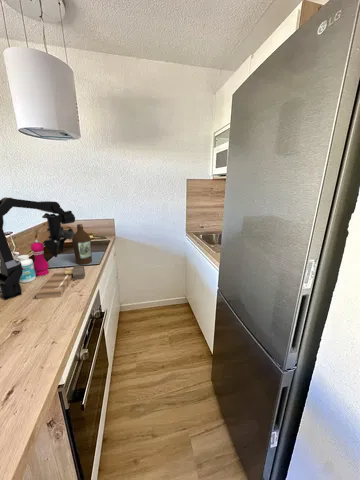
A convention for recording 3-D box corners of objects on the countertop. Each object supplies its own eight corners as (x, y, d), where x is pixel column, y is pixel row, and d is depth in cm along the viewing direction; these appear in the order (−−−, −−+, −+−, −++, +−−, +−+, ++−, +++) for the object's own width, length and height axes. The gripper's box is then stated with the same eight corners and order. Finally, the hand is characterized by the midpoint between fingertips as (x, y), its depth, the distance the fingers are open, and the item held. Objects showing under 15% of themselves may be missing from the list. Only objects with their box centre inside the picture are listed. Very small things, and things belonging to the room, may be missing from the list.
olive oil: (72, 262, 136) (67, 224, 129) (89, 258, 143) (84, 222, 136) (79, 266, 128) (73, 226, 122) (95, 262, 136) (91, 224, 129)
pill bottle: (16, 284, 105) (10, 259, 102) (22, 278, 112) (17, 254, 109) (33, 282, 107) (28, 257, 104) (38, 276, 114) (34, 253, 111)
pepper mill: (52, 271, 121) (47, 238, 116) (43, 276, 114) (37, 241, 109) (41, 271, 122) (35, 237, 116) (31, 276, 115) (24, 241, 109)
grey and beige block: (83, 278, 112) (82, 268, 110) (65, 280, 110) (64, 270, 108) (85, 275, 115) (84, 265, 114) (67, 277, 113) (66, 267, 112)
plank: (61, 296, 94) (60, 291, 93) (36, 299, 92) (35, 293, 91) (74, 275, 116) (74, 271, 115) (55, 277, 114) (54, 272, 113)
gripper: (66, 228, 101) (70, 258, 105) (76, 222, 119) (79, 248, 123) (40, 229, 99) (45, 260, 103) (54, 222, 117) (58, 249, 121)
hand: (59, 254), depth 113 cm, fingers open, 9 cm apart
